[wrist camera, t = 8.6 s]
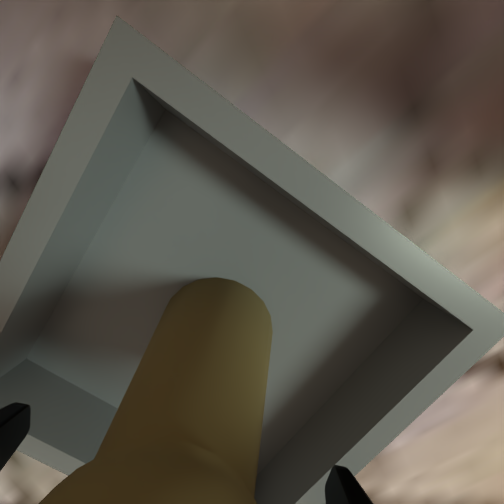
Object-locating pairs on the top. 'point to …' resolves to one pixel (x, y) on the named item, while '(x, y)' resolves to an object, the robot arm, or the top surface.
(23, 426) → the robot arm
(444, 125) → the top surface
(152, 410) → the olive gourd-shaped piece
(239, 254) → the tray
